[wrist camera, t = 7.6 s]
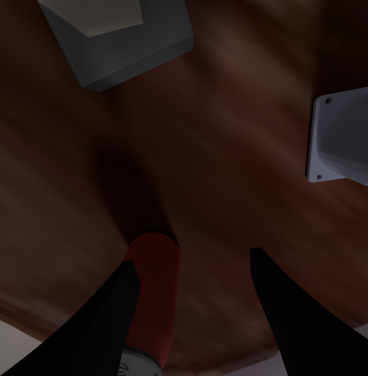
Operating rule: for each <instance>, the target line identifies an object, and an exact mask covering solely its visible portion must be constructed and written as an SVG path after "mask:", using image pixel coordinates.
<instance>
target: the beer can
mask: <svg viewBox="0 0 368 376" xmlns="http://www.w3.org/2000/svg"><path fill="white" fill-rule="evenodd" d="M131 260H133V263H134V266H135V268H136V271H137V274H138V276H139V279H140V282H141V287H140V293H139V298H138V303H137V306H136V309H135V313H134V316H133V319H132V322H131V326H130V329H129V332H128V335H127V339H126V342H125V345H124V349H123V353H122V357H121V361H120V365H119V370H118V374H117V376H162V368H163V366H164V364H165V361H166V359H167V356H168V353H169V350H170V346H171V343H172V339H173V329H174V318H175V307H176V296H177V285H178V274H179V263H180V251H179V248H178V246H177V244H176V243H175V241H173V240H172V239H171V238H170V237H168V236H166V235H164V234H162V233H157V232H147V233H144V234H141V235H139V236H137V237H136V238H135V239H134V240H133V241H132V243H131V245H130V246H129V249H128V251H127V253H126V255H125V257H124V259H123V261H131ZM123 261H122V262H123Z"/></svg>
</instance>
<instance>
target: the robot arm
mask: <svg viewBox="0 0 368 376" xmlns="http://www.w3.org/2000/svg"><path fill="white" fill-rule="evenodd" d="M327 98H328V99H329V102H328V103H327V104H326V99H327ZM318 175H319V177H318V178H316V177H317V176H318ZM341 178H349V179H352V180H354V181H356V182H359V183H361V184H363V185H366V186H368V87H365V88H360V89H355V90H349V91H344V92H339V93H333V94H328V95H323V96H319V97H317V98H316V99H315V101H314V107H313V117H312V128H311V138H310V148H309V158H308V169H307V180H308V181H310V182H319V181H326V180H333V179H341ZM250 266H251V276H252V280H253V283H254V286H255V290H256V293H257V295H258V298H259V300H260V303H261V305H262V308H263V310H264V312H265V315H266V317H267V320H268V322H269V325H270V327H271V329H272V332H273V334H274V337H275V339H276V342H277V345H278V347H279V350H280V353H281V356H282V359H283V362H284V365H285V368H286V371H287V374H288V376H368V339H367V338H365V337H364V336H362V335H361V334H360V333H358V332H357V331H355V330H354V329H352V328H351V327H350V326H348V325H347V324H345V323H344V322H343V321H341V320H340V319H339V318H338V317H336V316H335V315H334V314H332V313H331V312H330V311H328V310H327V309H326V308H325V307H323V306H322V305H321V304H320V303H318V302H317V301H316V300H315V299H314V298H312V297H311V296H310V295H309V294H308V293H307V292H305V291H304V290H303V289H302V288H301V287H300V286H299V285H298V284H297V283H295V282H294V281H293V280H292V279H291V278H290V277H289V276H288V275H287V274H286V273H285V272H284V271H283V270H282V269H281V268H280V267H279V266H278V265H277V264H276V263H275V262H274V261H273V260H272V259H271V258H270V257H269V256H268V254H267V253H266V252H265V251H264V250H263V249H262V248H261V247H260V248H250ZM140 287H141V282H140V279H139V276H138V274H137V271H136V268H135V266H134V263H133V260H131V261H123V262H122V263H121V264H120V265H119V267H118V268H117V269H116V270H115V271H114V272H113V273H112V275H111V276H110V277H109V278H108V279H107V280H106V281H105V283H104V284H103V285H102V286H101V287H100V288H99V289H98V290H97V291H96V293H95V294H94V295H93V296H92V297H91V298H90V299H89V300H88V301H87V302H86V303H85V304H84V305H83V306H82V307H81V308H80V309H79V310H78V311H77V312H76V313H75V314H74V315H73V316H72V317H71V318H70V319H69V320H68V321H67V322H66V323H65V324H63V325H62V326H61V327H60V328H59V329H58V330H57V331H56V332H55V333H53V334H52V335H51V336H50V337H49V338H47V339H46V340H45V341H44V342H43V343H41V344H40V345H39V346H38V347H37V348H36V349H34V350H33V351H32V352H31V353H29V354H28V355H27V356H26V357H24V358H23V359H22V360H20V361H19V362H18V363H17V364H15V365H14V366H13V367H11V368H10V369H9V370H8V371H6V372H5V373H3V374H2V375H1V376H117V374H118V370H119V365H120V361H121V357H122V353H123V349H124V345H125V342H126V339H127V335H128V332H129V329H130V326H131V322H132V319H133V316H134V313H135V309H136V306H137V303H138V298H139V293H140Z"/></svg>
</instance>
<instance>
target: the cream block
mask: <svg viewBox="0 0 368 376" xmlns="http://www.w3.org/2000/svg"><path fill="white" fill-rule="evenodd" d="M37 1H39V2H40V3H42V4H43V5H44V6H46V7H47V8H49V9H50V10H51V11H53V12H54V13H55V14H57V15H58V16H60V17H61V18H62V19H64V20H65V21H66V22H68V23H69V24H71V25H72V26H73V27H75V28H76V29H77V30H79V31H80V32H82V33H83V34H84V35H86V36H87V37H91V36H95V35H99V34H103V33H107V32H111V31H115V30H119V29H123V28H127V27H131V26H134V25H138V24H142V23H144V22H143V17H142V12H141V8H140V3H139V0H37Z"/></svg>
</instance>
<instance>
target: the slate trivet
mask: <svg viewBox="0 0 368 376" xmlns="http://www.w3.org/2000/svg"><path fill="white" fill-rule="evenodd" d="M38 3H39V5H40V7H41V9H42V11H43V13H44V15H45V17H46V19H47V21H48V23H49V24H50V26H51V28H52V30H53V32H54V34H55V36H56V38H57V40H58V42H59V44H60V46H61V48H62V50H63V52H64V54H65V56H66V58H67V60H68V62H69V64H70V66H71V68H72V70H73V72H74V73H75V75H76V77H77V79H78V81H79V83H80V85H81V87H82V88H85V89H90V90H94V91H98V92H102V91H104V90H106V89H109V88H111V87H113V86H115V85H117V84H119V83H122V82H124V81H126V80H128V79H130V78H133V77H135V76H137V75H139V74H141V73H143V72H146V71H148V70H150V69H152V68H154V67H156V66H159V65H161V64H163V63H165V62H167V61H170V60H172V59H174V58H176V57H178V56H180V55H183V54H185V53H187V52H189V51H191V50H194V34H193V30H192V26H191V23H190V19H189V15H188V12H187V8H186V4H185V1H184V0H139V3H140V8H141V12H142V17H143V22H144V23H142V24H138V25H134V26H131V27H127V28H123V29H119V30H115V31H111V32H107V33H103V34H99V35H95V36H91V37H87V36H86V35H84V34H83V33H82V32H80V31H79V30H77V29H76V28H75V27H73V26H72V25H71V24H69V23H68V22H66V21H65V20H64V19H62V18H61V17H60V16H58V15H57V14H55V13H54V12H53V11H51V10H50V9H49V8H47V7H46V6H44V5H43V4H42V3H40V2H39V1H38Z"/></svg>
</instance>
